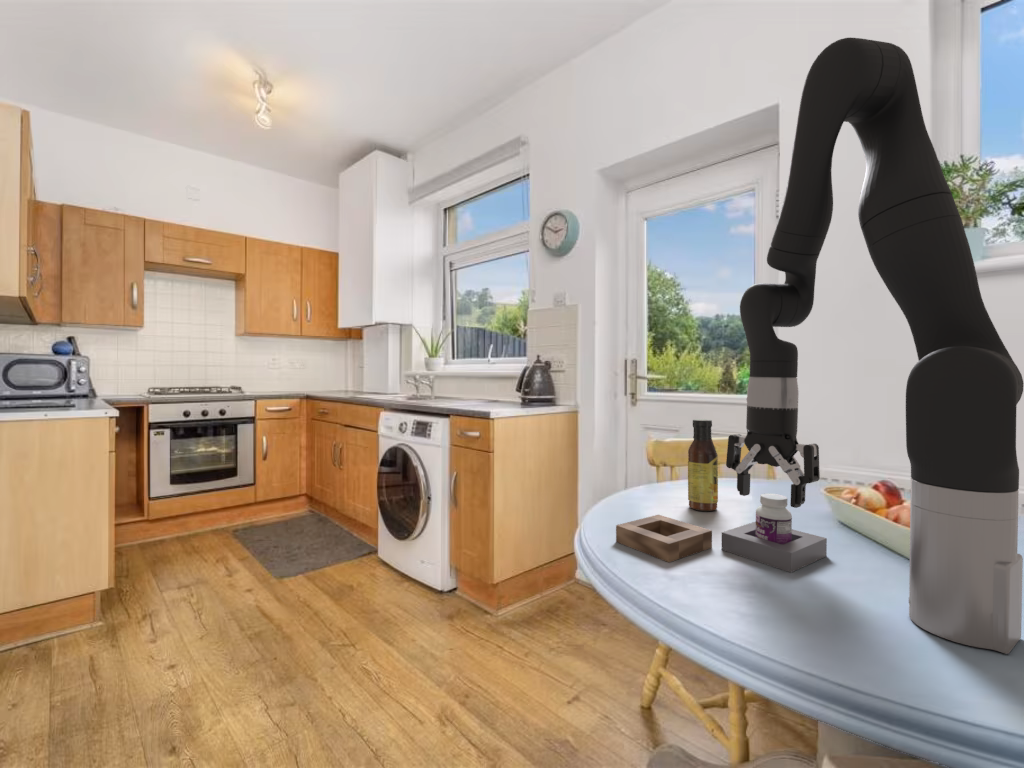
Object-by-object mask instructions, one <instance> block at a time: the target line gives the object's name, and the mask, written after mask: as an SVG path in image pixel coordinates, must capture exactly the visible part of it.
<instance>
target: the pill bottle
mask: <svg viewBox="0 0 1024 768" xmlns="http://www.w3.org/2000/svg"><path fill="white" fill-rule="evenodd" d="M759 502H760V505H759V506H758V507H757V508H756V510H755V522H756V537H757V538H761V539H764V540H768V541H771V542H775V543H778V544H782V545H784V544H786V543H789V542H791V536H792V525H793V524H792V523H793V522H792V521H793V515H792V512H791V511H790V510H789V509H788V508H786V507H788V497H787V496H785V495H782V494H777V493H762V494H760V500H759Z"/></svg>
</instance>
